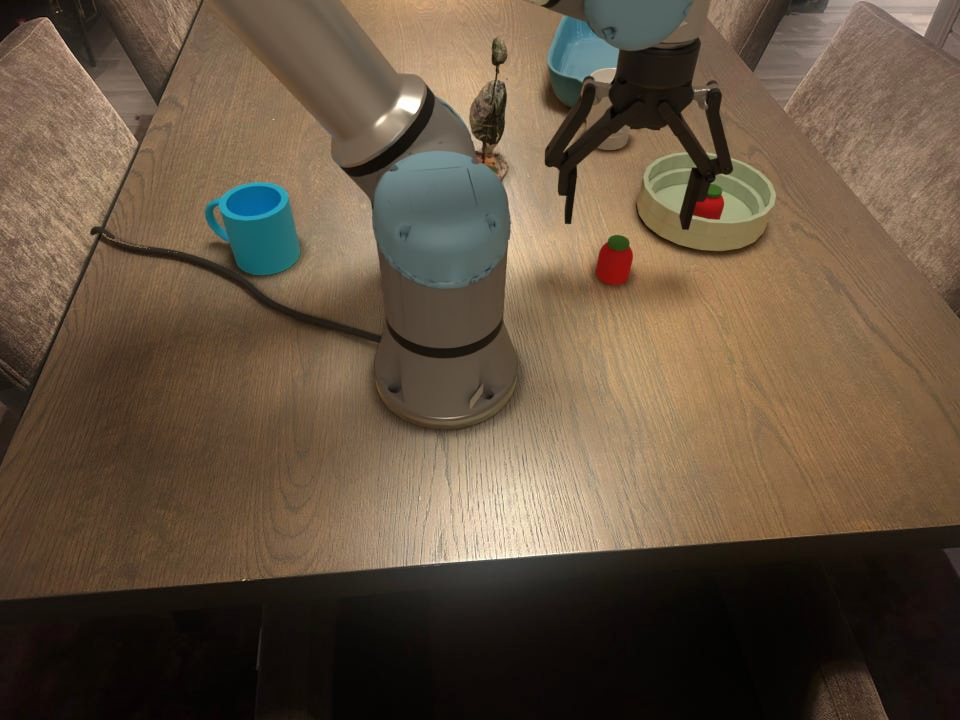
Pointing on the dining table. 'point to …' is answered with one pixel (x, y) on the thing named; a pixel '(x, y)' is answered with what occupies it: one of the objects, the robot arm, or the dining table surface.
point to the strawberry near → (711, 204)
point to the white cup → (598, 111)
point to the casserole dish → (576, 58)
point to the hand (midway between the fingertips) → (625, 220)
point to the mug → (257, 227)
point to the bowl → (737, 227)
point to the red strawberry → (614, 260)
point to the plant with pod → (491, 114)
